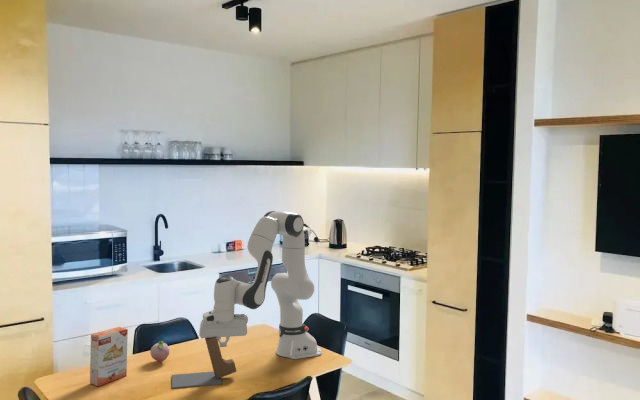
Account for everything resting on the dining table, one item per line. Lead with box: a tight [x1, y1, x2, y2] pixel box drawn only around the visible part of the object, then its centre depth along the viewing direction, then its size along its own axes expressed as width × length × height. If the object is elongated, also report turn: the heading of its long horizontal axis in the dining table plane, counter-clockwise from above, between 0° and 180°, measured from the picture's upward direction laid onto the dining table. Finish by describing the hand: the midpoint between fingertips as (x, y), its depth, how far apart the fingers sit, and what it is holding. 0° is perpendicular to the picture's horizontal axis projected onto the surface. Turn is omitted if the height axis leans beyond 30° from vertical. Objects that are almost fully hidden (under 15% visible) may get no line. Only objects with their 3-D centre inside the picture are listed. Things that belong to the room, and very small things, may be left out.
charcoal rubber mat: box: [171, 371, 223, 390], centre depth 215 cm, size 20×13×1 cm, turn 106°
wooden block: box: [204, 337, 237, 379], centre depth 217 cm, size 9×4×18 cm, turn 112°
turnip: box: [150, 340, 170, 363], centre depth 234 cm, size 9×8×10 cm
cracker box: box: [89, 326, 129, 387], centre depth 212 cm, size 14×6×21 cm, turn 148°
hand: (223, 346), depth 217 cm, fingers closed
